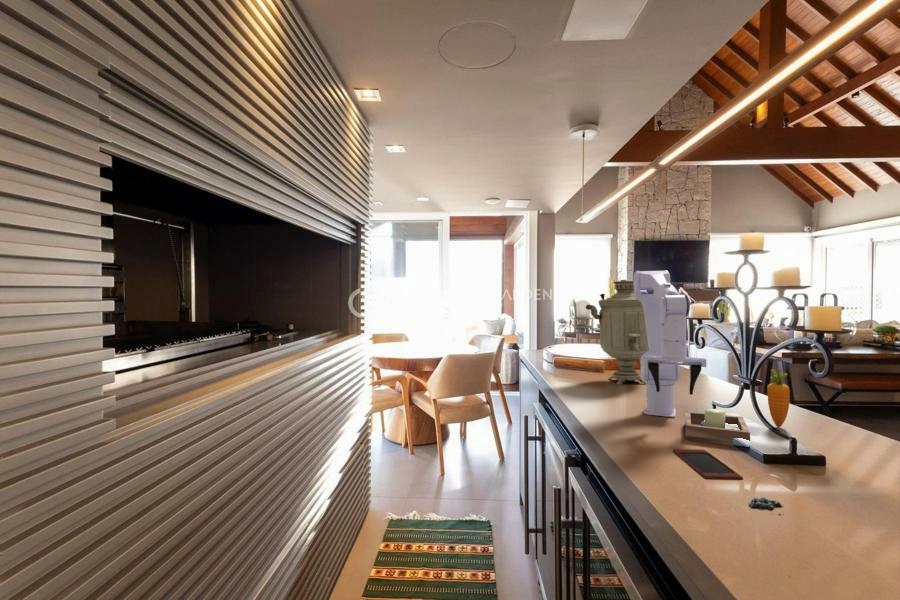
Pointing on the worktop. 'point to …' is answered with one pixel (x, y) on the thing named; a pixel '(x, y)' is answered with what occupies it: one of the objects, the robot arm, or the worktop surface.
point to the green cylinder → (714, 418)
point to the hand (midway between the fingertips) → (674, 392)
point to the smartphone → (707, 464)
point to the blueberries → (764, 504)
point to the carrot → (778, 398)
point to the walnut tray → (714, 429)
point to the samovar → (622, 330)
